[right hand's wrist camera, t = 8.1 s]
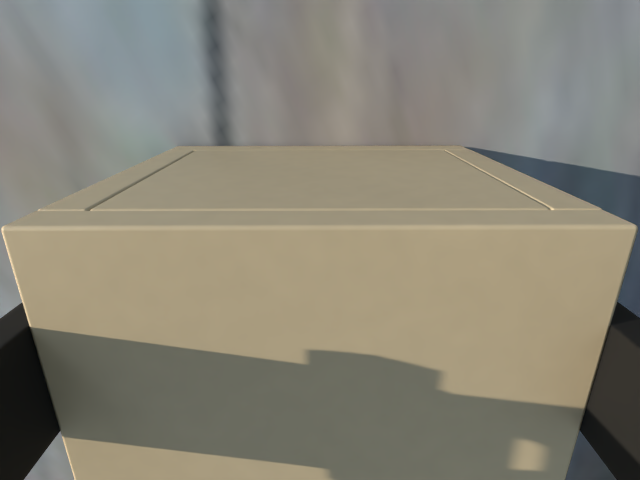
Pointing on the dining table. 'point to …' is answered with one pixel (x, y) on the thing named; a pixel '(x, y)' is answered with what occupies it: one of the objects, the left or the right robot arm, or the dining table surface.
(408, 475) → the cabinet
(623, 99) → the dining table surface
